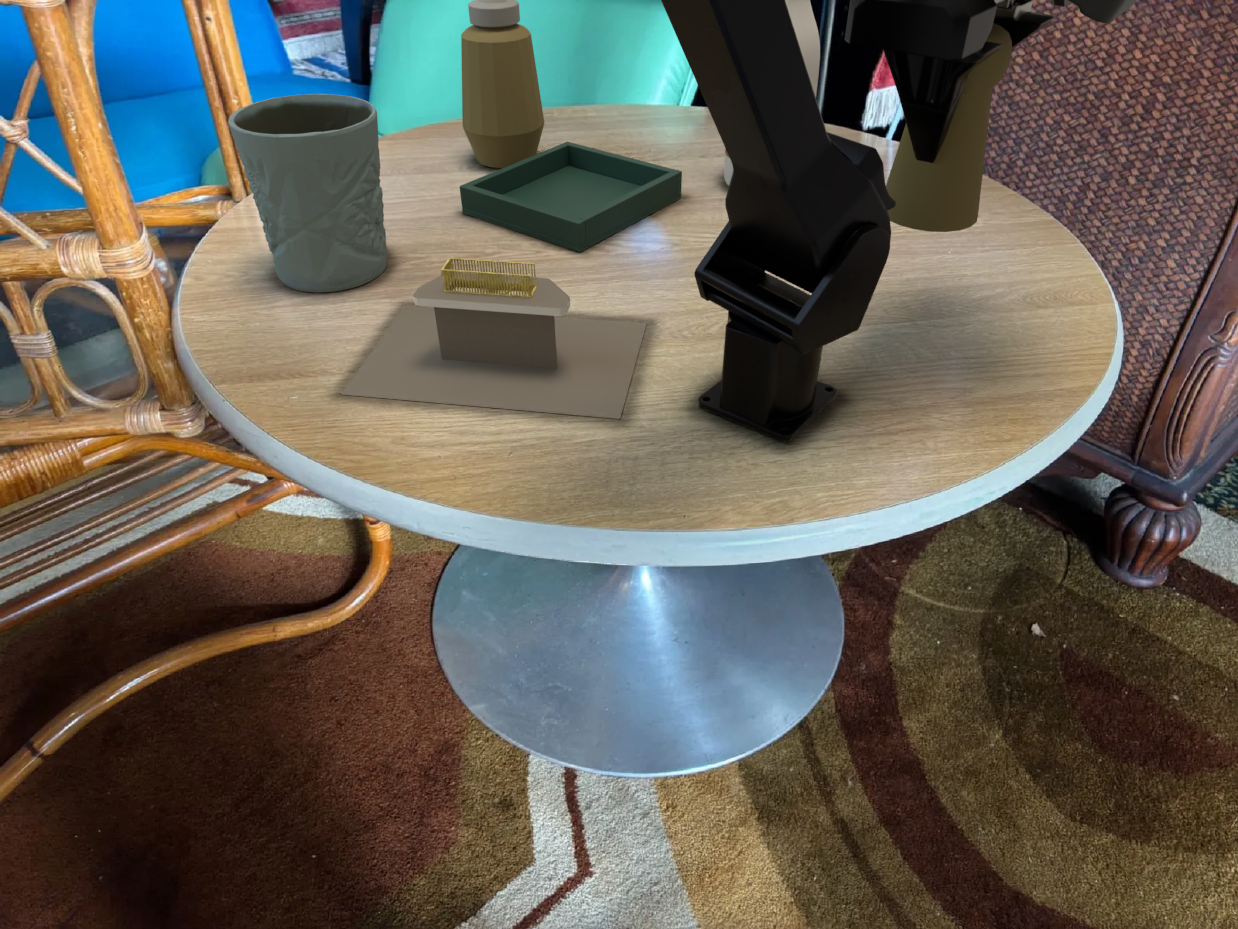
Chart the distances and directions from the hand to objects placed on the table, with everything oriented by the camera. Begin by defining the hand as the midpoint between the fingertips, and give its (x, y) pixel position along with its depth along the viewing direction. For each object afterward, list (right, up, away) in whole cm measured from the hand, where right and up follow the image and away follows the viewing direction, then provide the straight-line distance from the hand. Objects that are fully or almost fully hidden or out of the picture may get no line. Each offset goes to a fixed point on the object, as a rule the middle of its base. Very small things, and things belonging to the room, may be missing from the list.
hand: (941, 151), depth 54 cm
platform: (-27, -12, +6) cm, 30 cm away
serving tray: (-24, +4, +27) cm, 36 cm away
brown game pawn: (0, -3, +2) cm, 4 cm away
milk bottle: (-6, +8, +31) cm, 32 cm away
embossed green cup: (-42, -3, +17) cm, 46 cm away
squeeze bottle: (-31, +12, +36) cm, 49 cm away
